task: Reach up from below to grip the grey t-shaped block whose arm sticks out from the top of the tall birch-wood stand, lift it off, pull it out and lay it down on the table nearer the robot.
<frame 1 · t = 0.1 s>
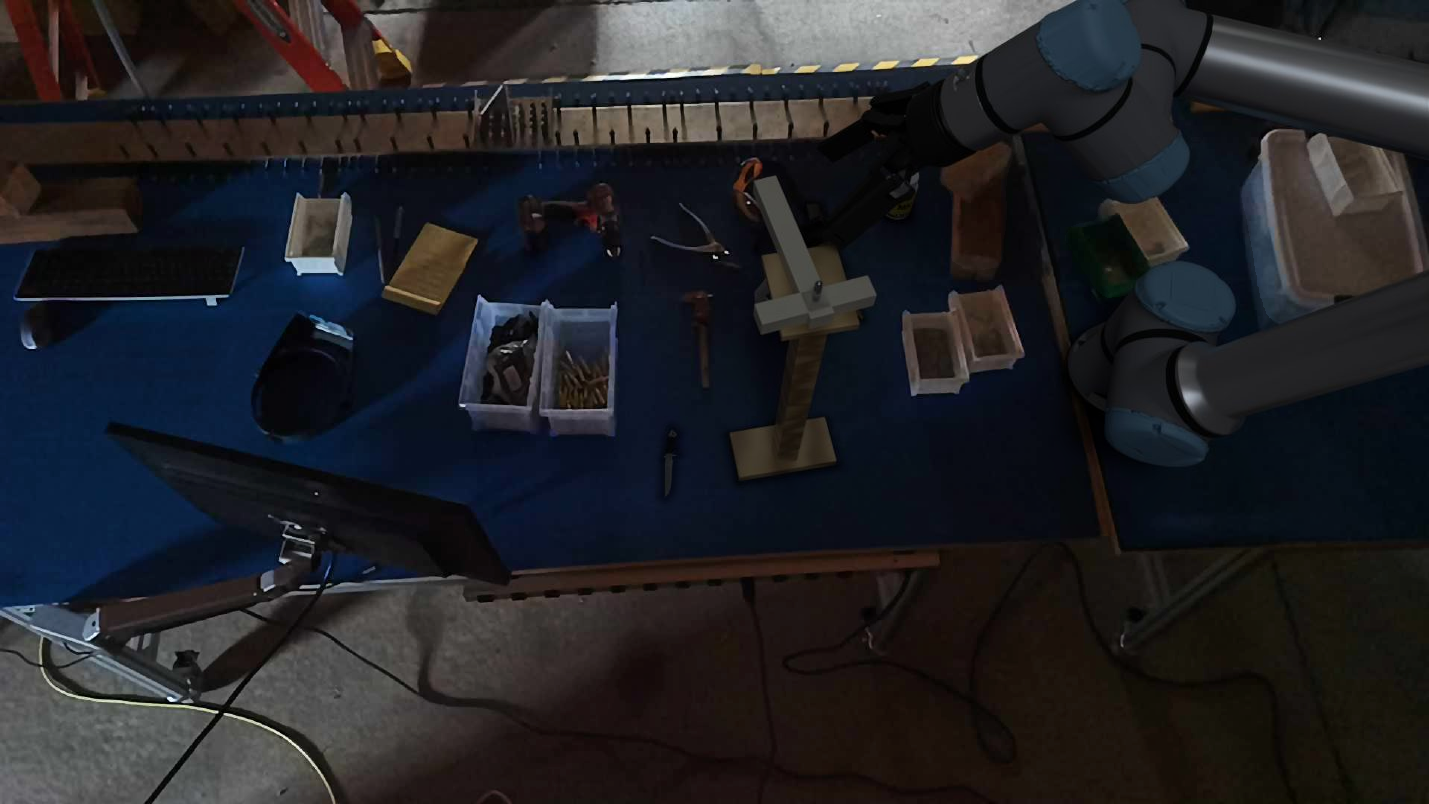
hand: (809, 196, 97), 37 cm above the workbench, tool tilted 35°, fingers open, 13 cm apart
supplement bottle: (895, 209, 143), on the workbench
hand saw: (832, 265, 138), on the workbench
mug: (790, 321, 133), on the workbench
knife: (670, 463, 123), on the workbench
grey t-shaped block: (790, 255, 90), point 40 cm above the workbench, touching stand
stand: (811, 400, 127), on the workbench
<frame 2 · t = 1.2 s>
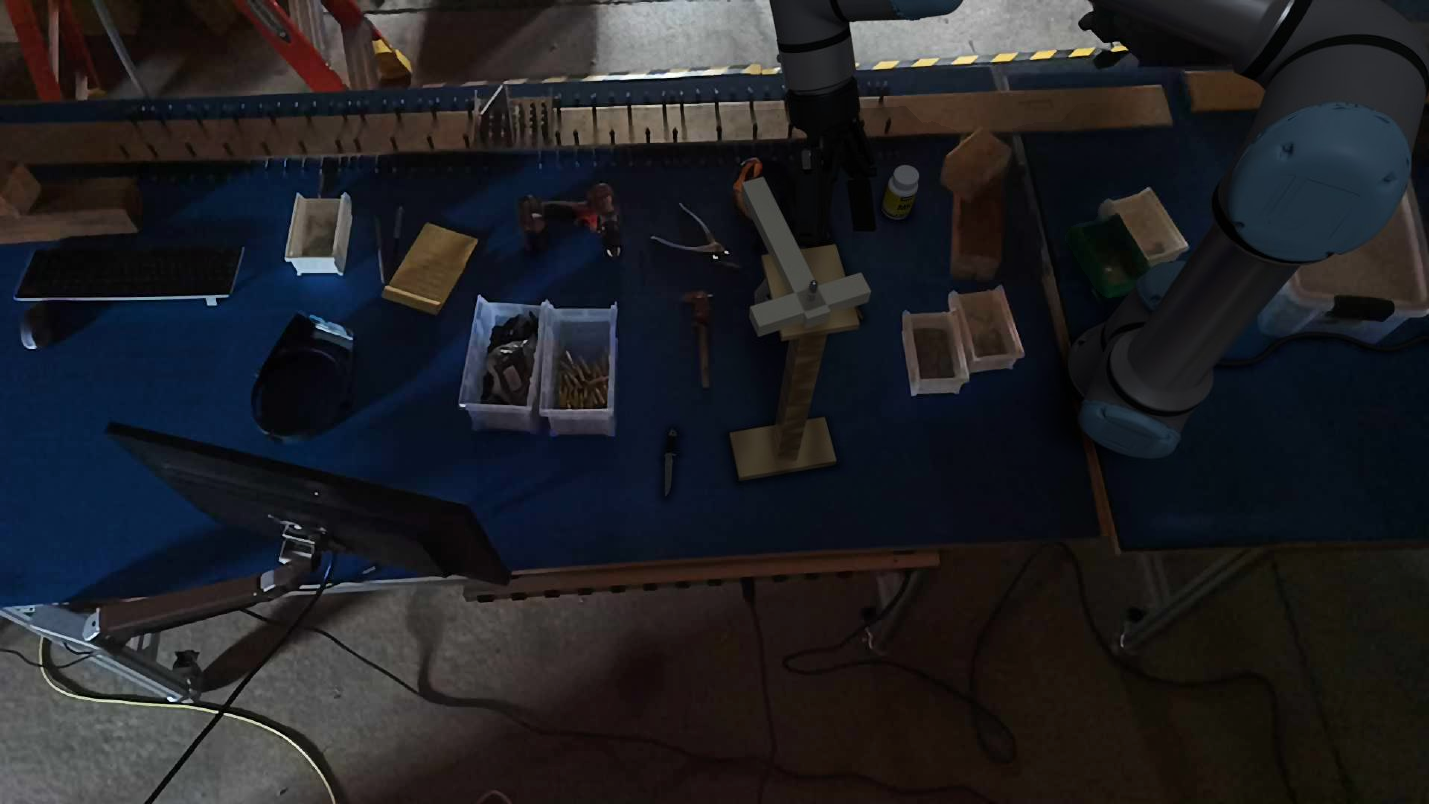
hand: (847, 261, 102), 30 cm above the workbench, tool tilted 30°, fingers open, 14 cm apart
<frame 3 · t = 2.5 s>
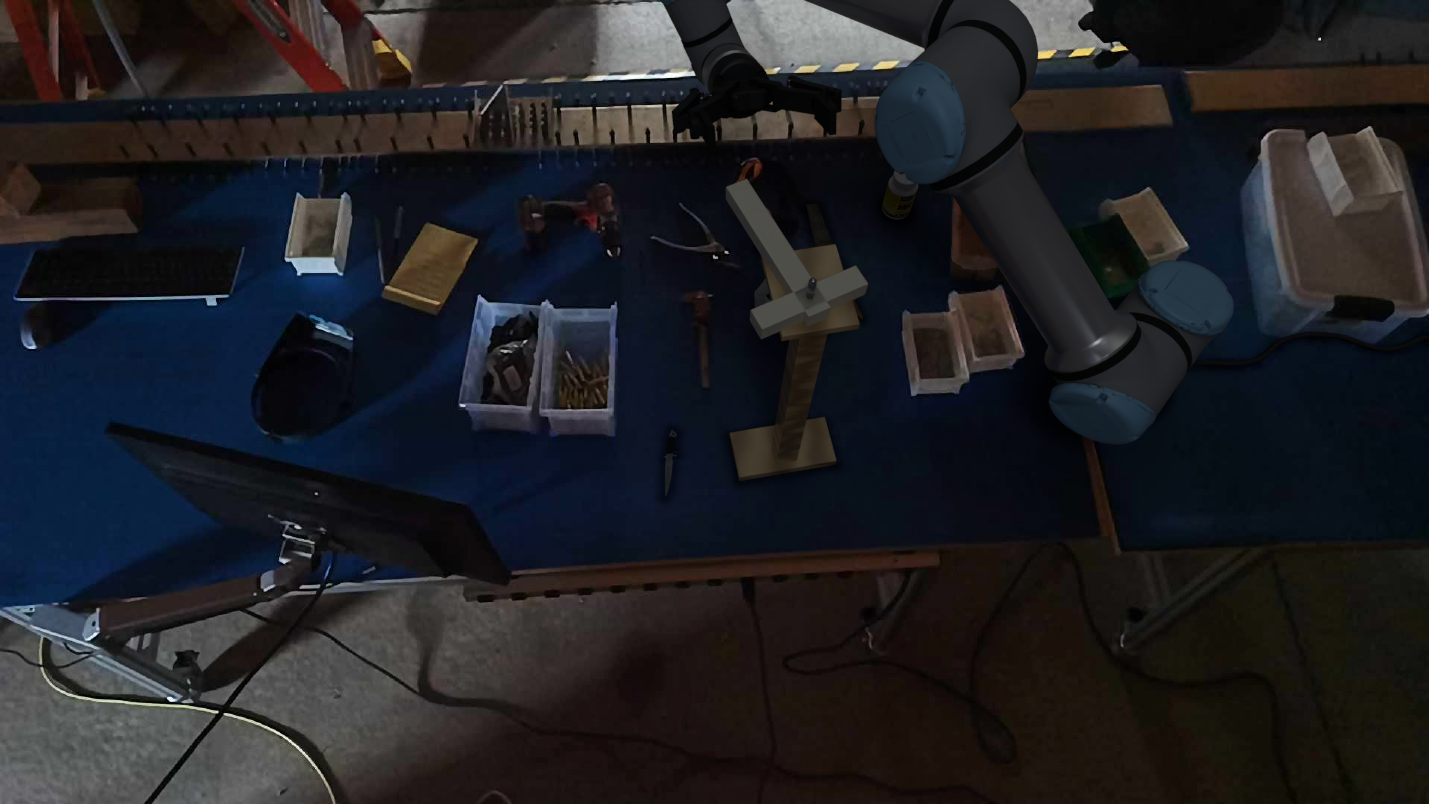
hand: (773, 130, 95), 42 cm above the workbench, tool pointing upward, fingers open, 13 cm apart
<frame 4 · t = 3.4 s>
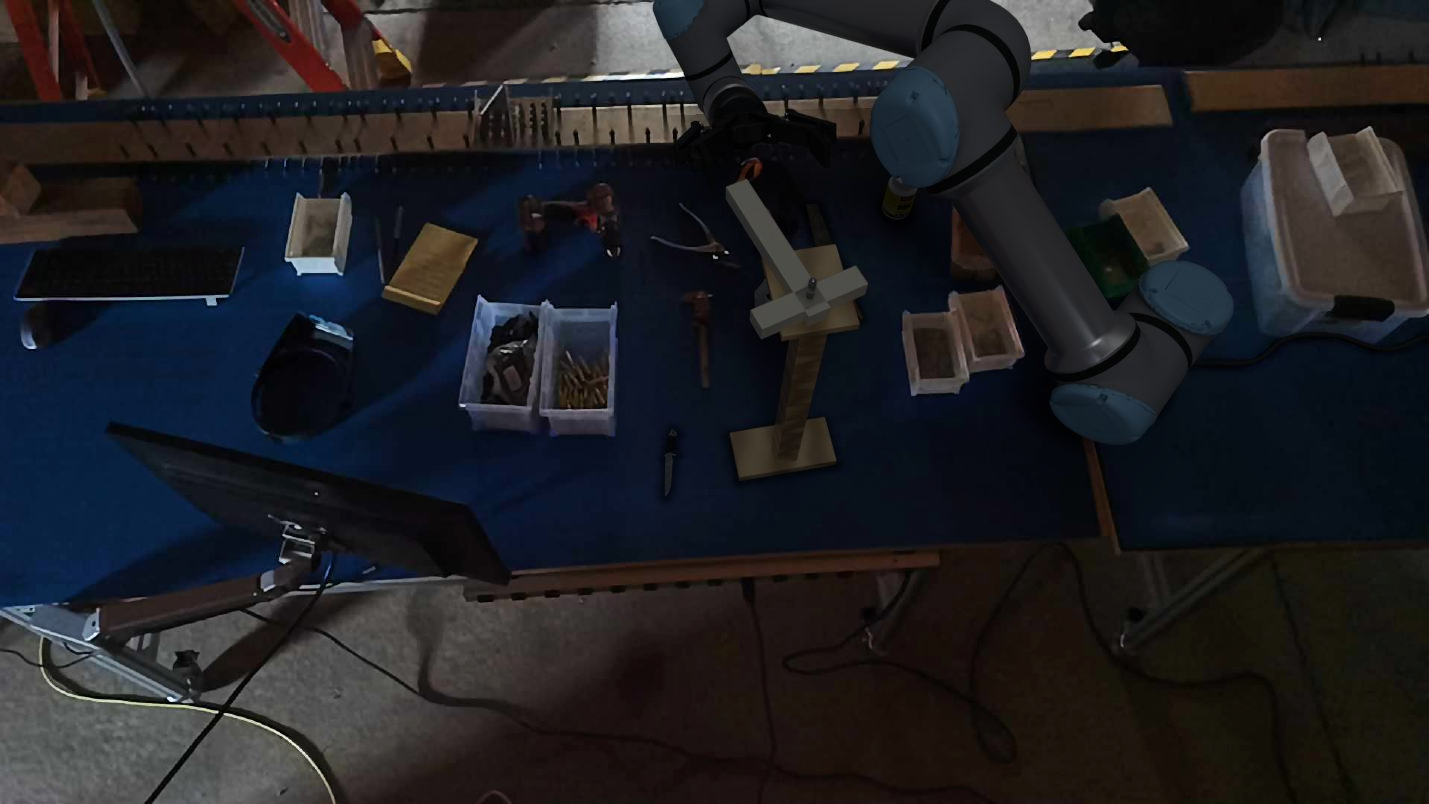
hand: (769, 164, 98), 38 cm above the workbench, tool pointing upward, fingers open, 13 cm apart
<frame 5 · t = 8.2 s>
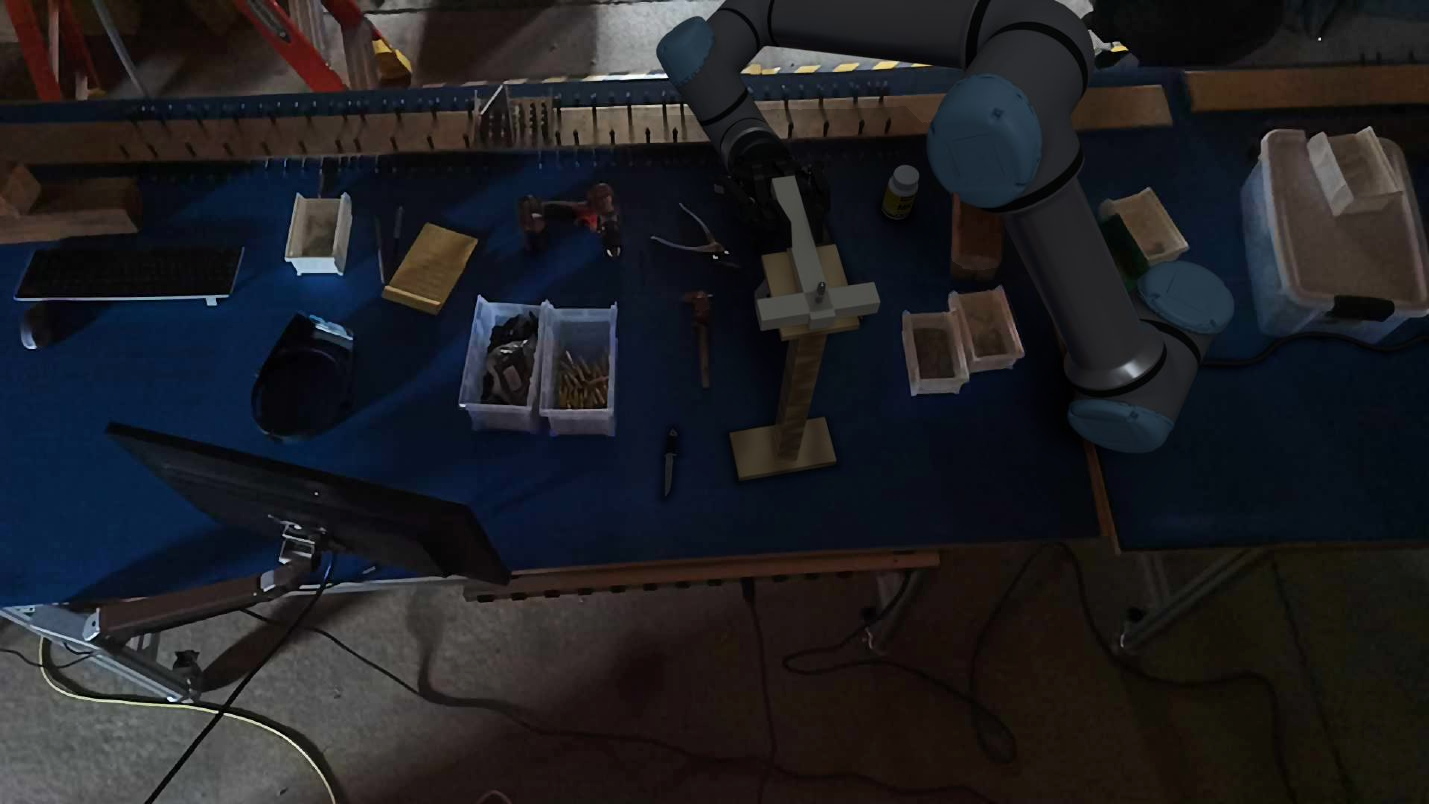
hand: (803, 232, 87), 44 cm above the workbench, tool pointing upward, fingers closed on grey t-shaped block, 2 cm apart
grey t-shaped block: (800, 255, 90), point 40 cm above the workbench, touching gripper, stand
everything else where it was.
when the fingers open (8 cm above the workbench, at t = 21.0 s): grey t-shaped block drops 4 cm, on the workbench.
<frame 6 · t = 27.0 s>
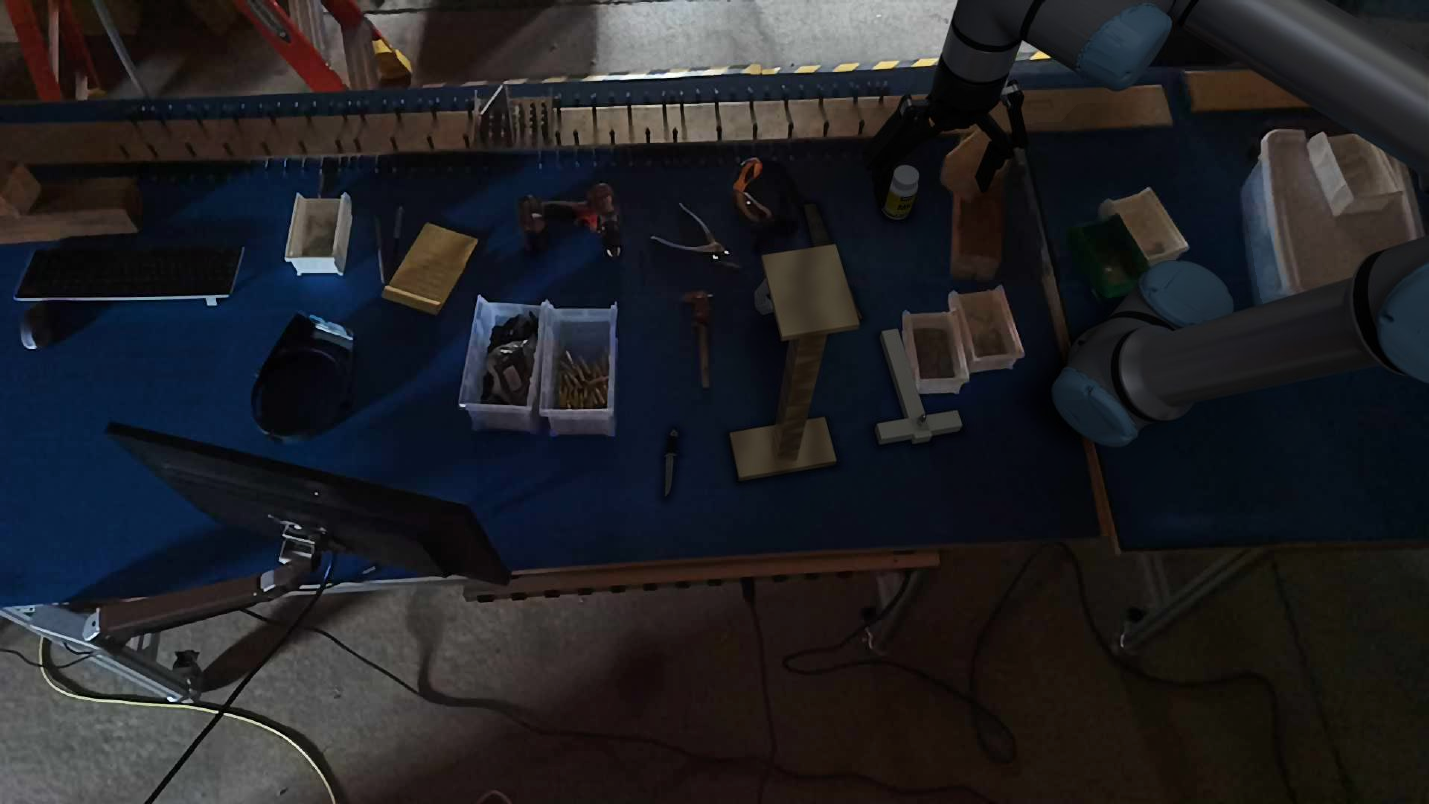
hand: (929, 192, 111), 27 cm above the workbench, tool pointing down, fingers open, 13 cm apart
grey t-shaped block: (903, 387, 128), on the workbench
everything else where it was.
at the end: grey t-shaped block inside the target area (1.4 cm from its centre), on the workbench; grey t-shaped block touching workbench; the gripper is holding nothing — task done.
